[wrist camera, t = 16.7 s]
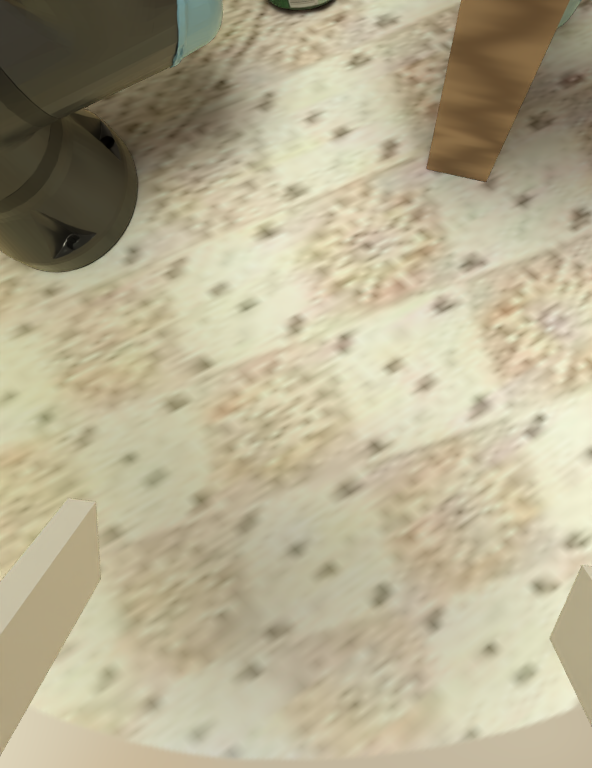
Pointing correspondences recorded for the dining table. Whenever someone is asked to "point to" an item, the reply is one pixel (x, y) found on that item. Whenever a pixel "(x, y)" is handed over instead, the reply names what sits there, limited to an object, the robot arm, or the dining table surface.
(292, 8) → the coffee jar
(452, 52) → the shelf
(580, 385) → the dining table surface
